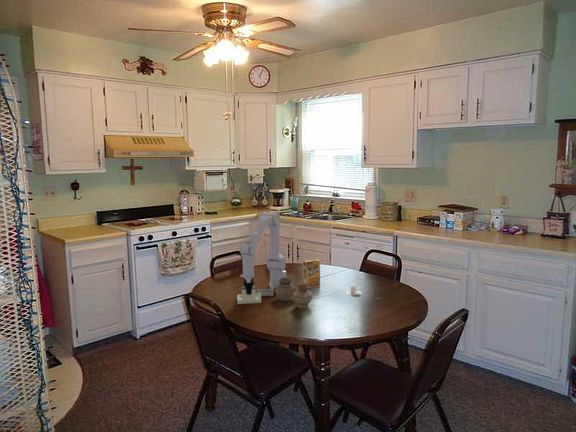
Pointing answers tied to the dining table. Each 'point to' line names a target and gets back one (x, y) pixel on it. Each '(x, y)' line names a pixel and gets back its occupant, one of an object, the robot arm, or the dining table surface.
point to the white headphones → (354, 291)
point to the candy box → (311, 272)
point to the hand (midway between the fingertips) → (249, 292)
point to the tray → (240, 301)
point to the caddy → (248, 297)
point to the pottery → (293, 292)
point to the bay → (266, 291)
